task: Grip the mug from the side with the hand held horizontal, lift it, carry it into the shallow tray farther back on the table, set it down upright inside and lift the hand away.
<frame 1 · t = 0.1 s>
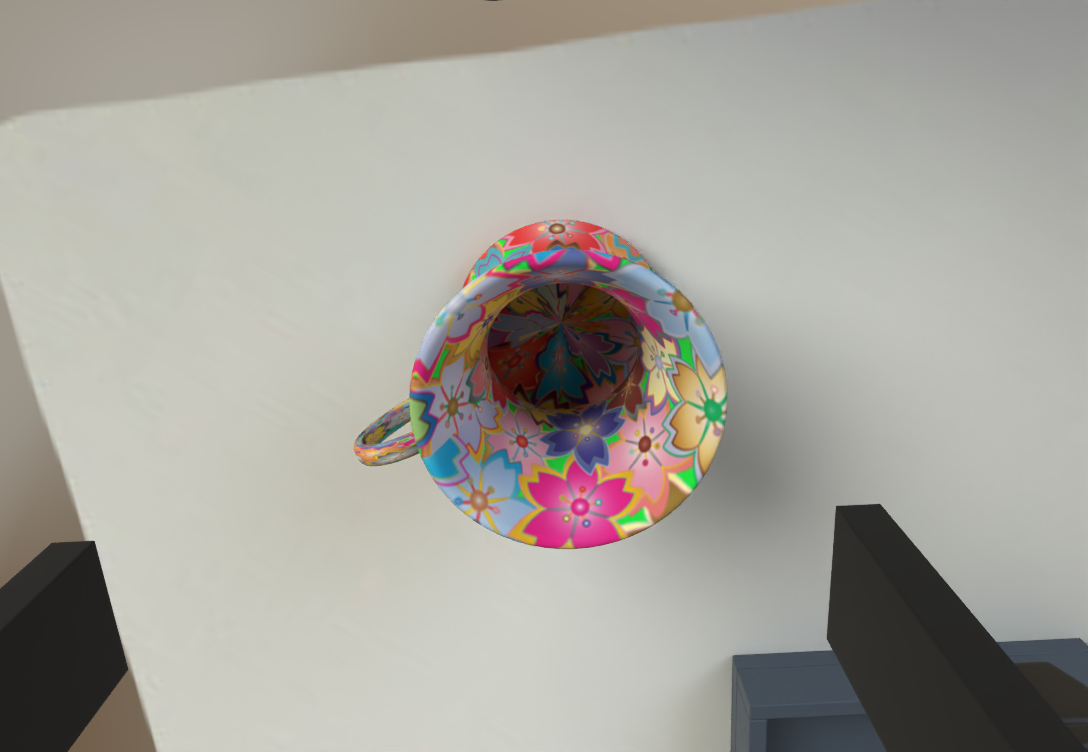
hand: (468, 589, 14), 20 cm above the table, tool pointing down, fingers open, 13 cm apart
mug: (530, 329, 34), on the table
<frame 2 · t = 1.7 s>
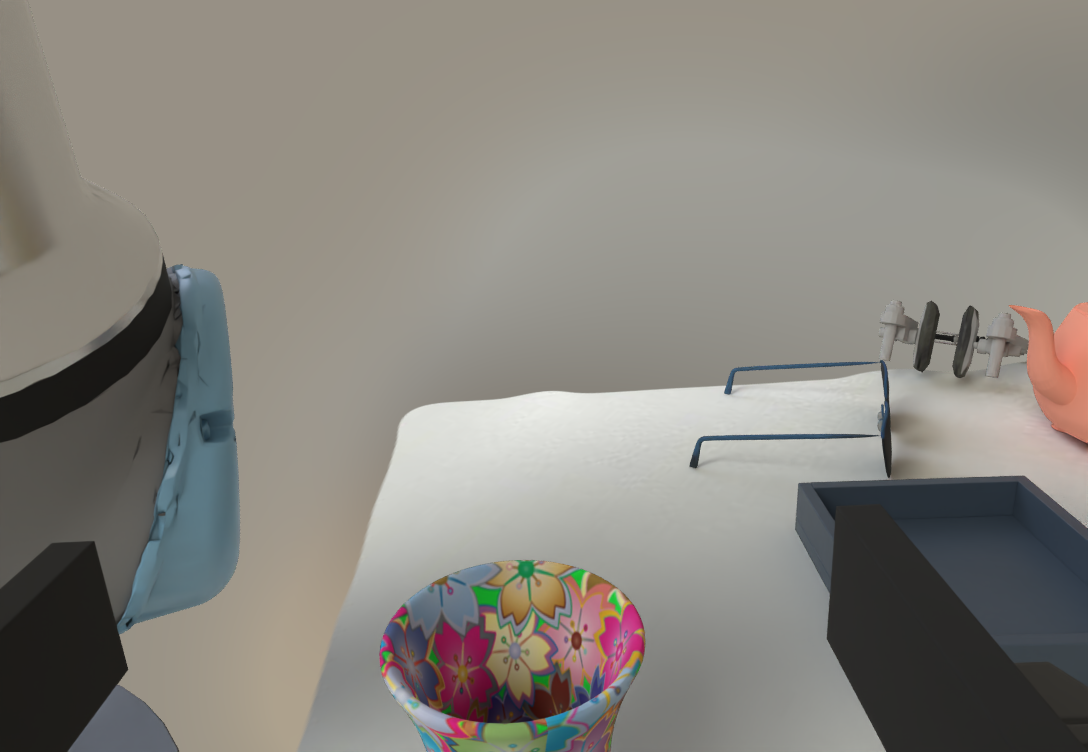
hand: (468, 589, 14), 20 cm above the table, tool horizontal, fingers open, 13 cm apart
wheel axle: (938, 334, 74), point 6 cm above the table
sunglasses: (795, 437, 68), on the table
tray: (963, 600, 46), on the table
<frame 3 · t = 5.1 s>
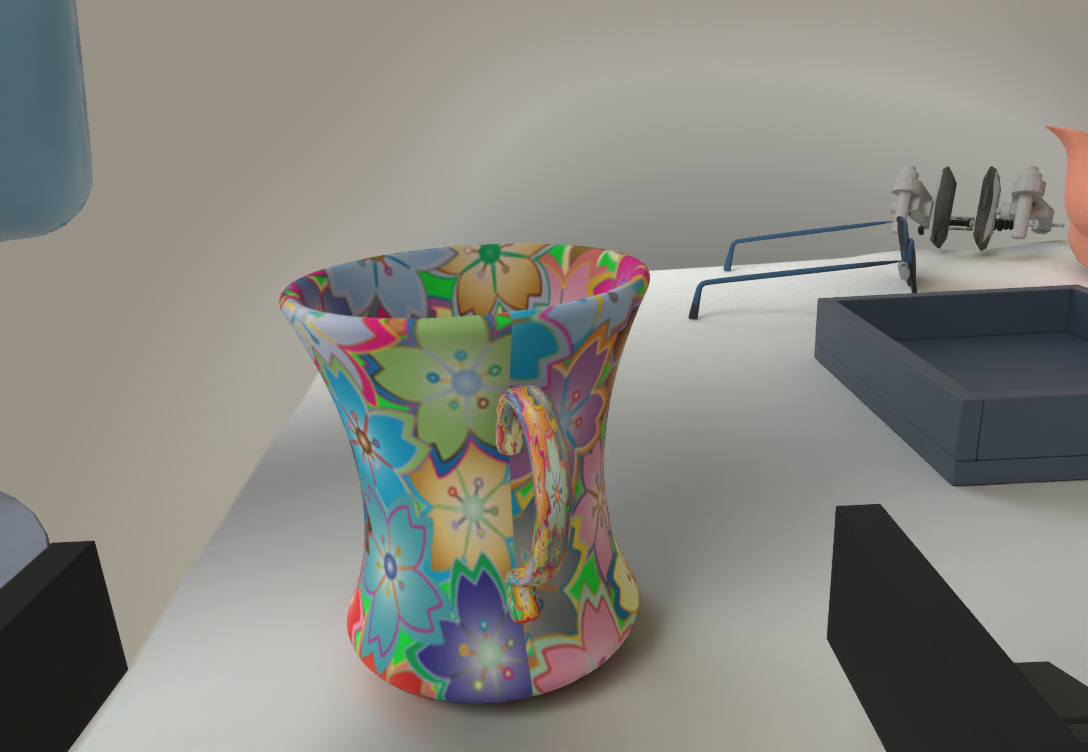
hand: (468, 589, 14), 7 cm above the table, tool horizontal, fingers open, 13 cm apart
wheel axle: (958, 194, 67), point 6 cm above the table
mug: (507, 658, 23), on the table
sunglasses: (806, 297, 61), on the table
tray: (1022, 400, 38), on the table
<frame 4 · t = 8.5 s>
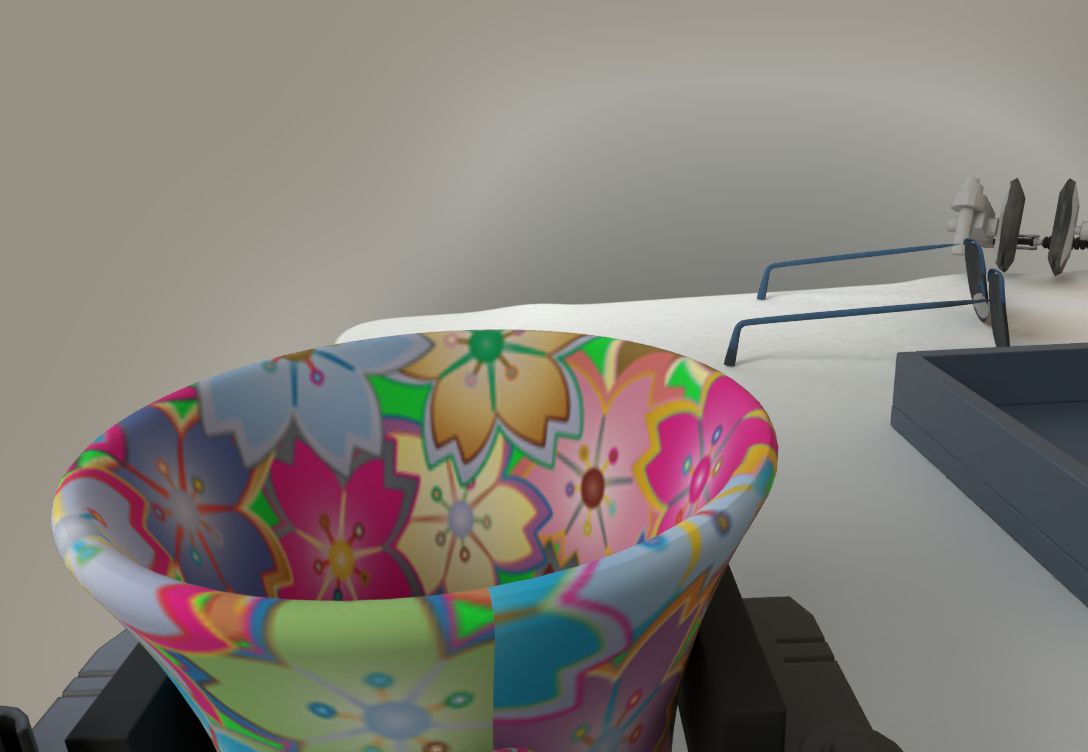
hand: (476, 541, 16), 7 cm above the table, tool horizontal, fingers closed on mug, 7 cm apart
wheel axle: (1033, 211, 57), point 6 cm above the table
sunglasses: (860, 335, 51), on the table
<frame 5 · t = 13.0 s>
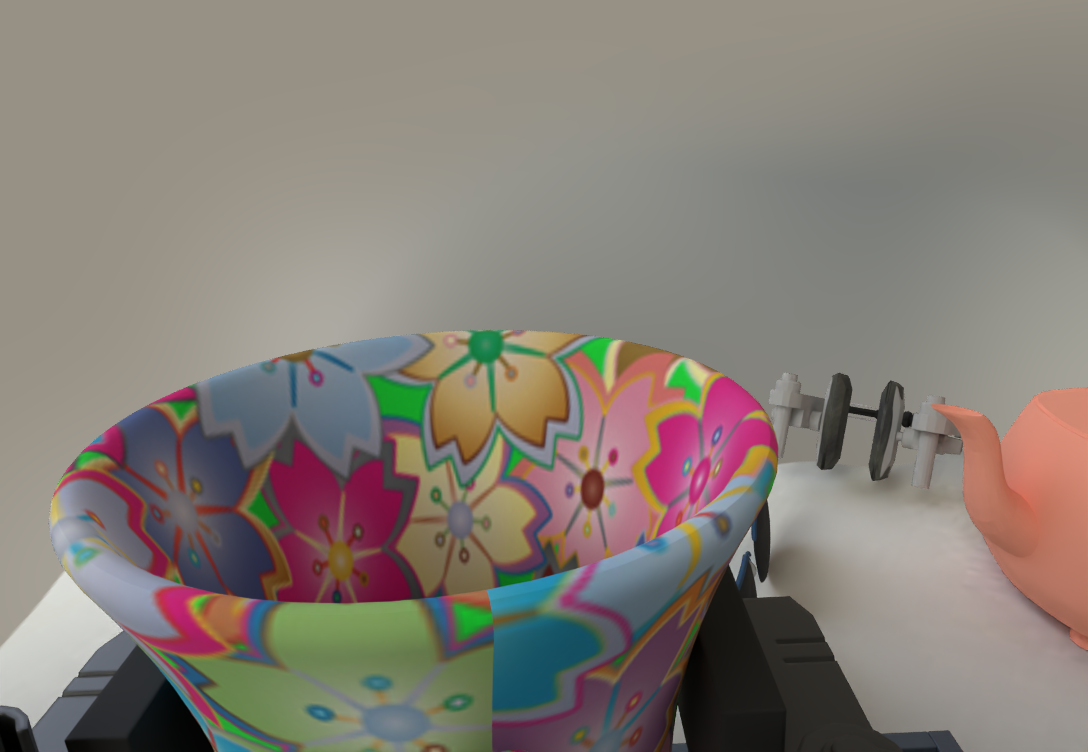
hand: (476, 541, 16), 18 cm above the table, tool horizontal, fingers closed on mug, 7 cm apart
wheel axle: (845, 425, 52), point 6 cm above the table
sunglasses: (627, 594, 45), on the table
when the fingers open (7 cm above the table, at t = 17.7 s): mug stays where it is, resting on tray.
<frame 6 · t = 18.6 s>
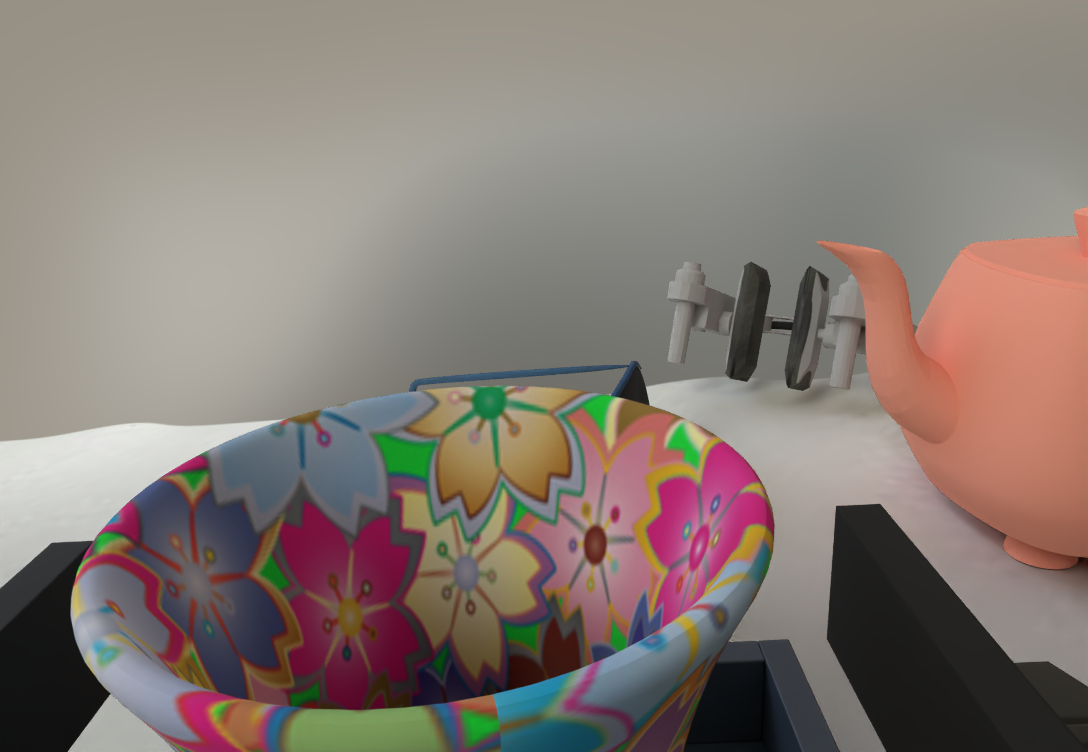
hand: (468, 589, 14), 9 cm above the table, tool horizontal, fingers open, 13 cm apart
teapot: (1051, 515, 33), on the table
wheel axle: (749, 315, 42), point 6 cm above the table
sunglasses: (458, 508, 36), on the table
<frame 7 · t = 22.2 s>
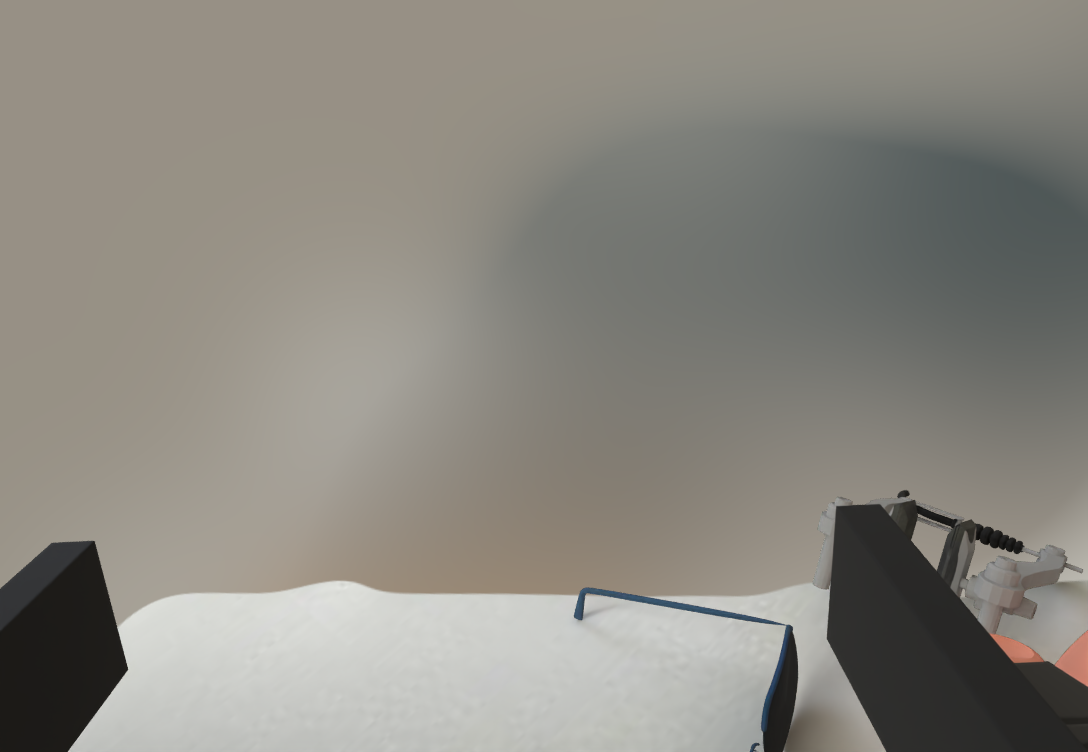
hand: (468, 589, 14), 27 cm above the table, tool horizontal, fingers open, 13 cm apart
wheel axle: (897, 575, 46), point 6 cm above the table
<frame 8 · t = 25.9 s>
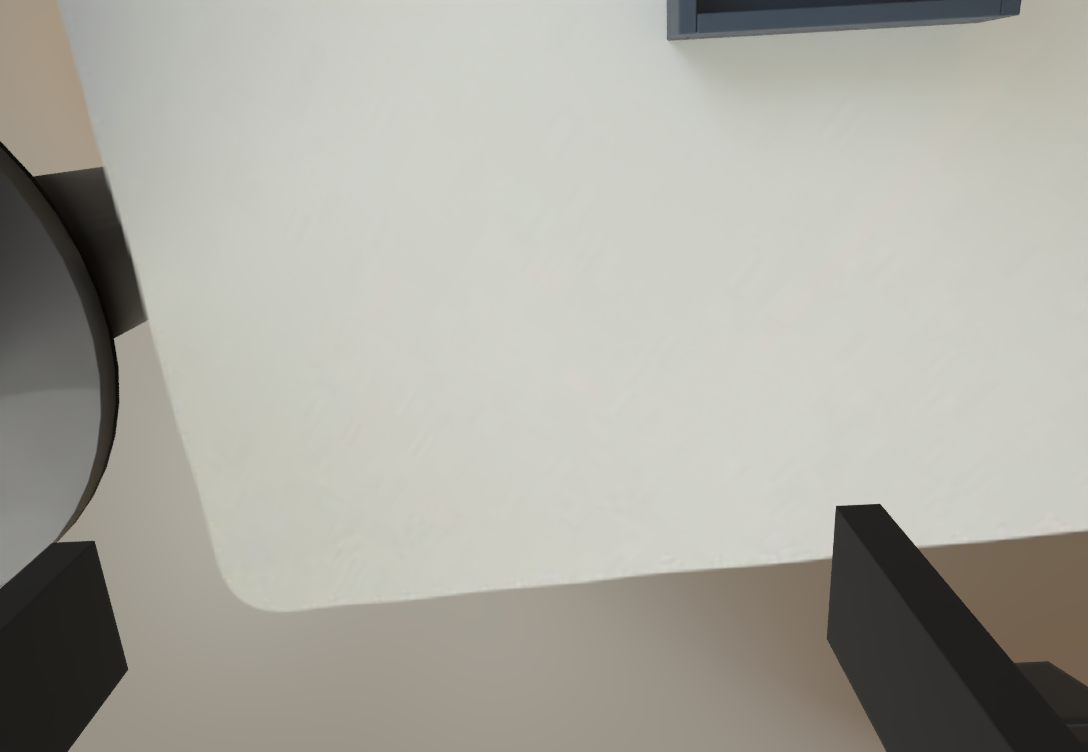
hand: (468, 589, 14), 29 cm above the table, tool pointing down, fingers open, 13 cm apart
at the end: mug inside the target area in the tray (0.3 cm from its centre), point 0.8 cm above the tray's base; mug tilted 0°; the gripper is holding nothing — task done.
